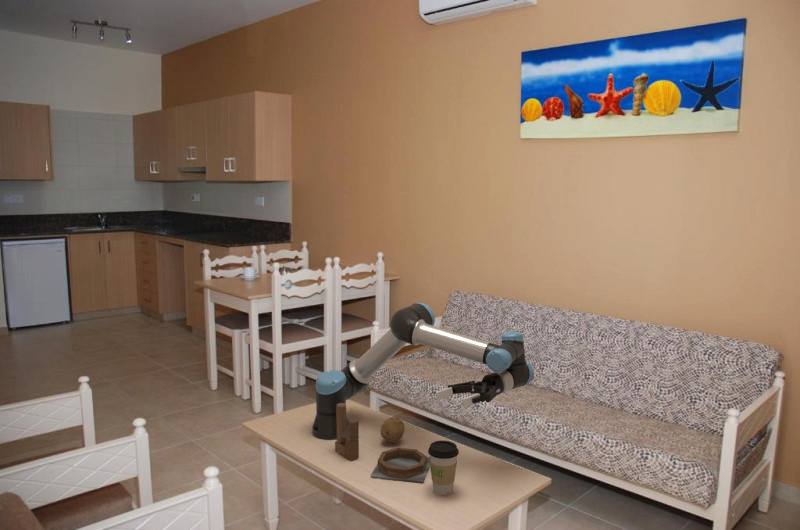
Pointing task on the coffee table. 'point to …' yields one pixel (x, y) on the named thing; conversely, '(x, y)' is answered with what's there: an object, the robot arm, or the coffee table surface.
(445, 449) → the coffee cup
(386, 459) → the cup collar
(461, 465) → the coffee table surface
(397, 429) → the brown round lump
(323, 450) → the coffee table surface
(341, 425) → the wooden block
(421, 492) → the coffee table surface
